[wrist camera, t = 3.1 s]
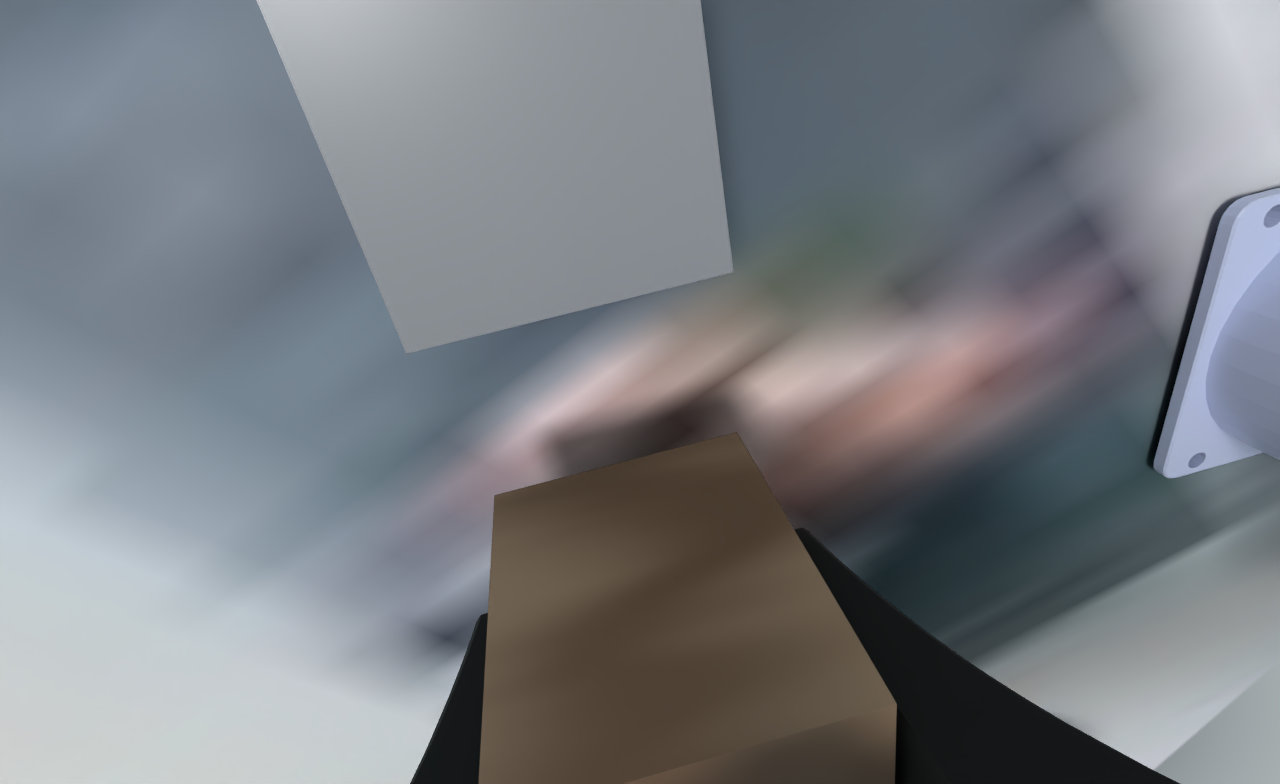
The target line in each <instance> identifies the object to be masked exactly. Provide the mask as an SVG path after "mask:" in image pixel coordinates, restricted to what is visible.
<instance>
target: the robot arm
mask: <svg viewBox="0 0 1280 784" xmlns="http://www.w3.org/2000/svg"><path fill="white" fill-rule="evenodd" d="M1262 453H1266V454H1268V455H1270V456H1272V457H1273V458H1275V459H1277V460H1279V461H1280V188H1276V189H1272V190H1268V191H1264V192H1260V193H1256V194H1252V195H1248V196H1245V197H1243V198H1240V199H1238V200H1236V201H1235V202H1234V203H1233V204H1231V205H1230V206H1229V207H1228V208H1227V209H1226V211H1225V212H1224V213H1223V215H1222V217H1221V220H1220V222H1219V226H1218V229H1217V233H1216V236H1215V240H1214V244H1213V247H1212V251H1211V255H1210V258H1209V262H1208V266H1207V269H1206V273H1205V277H1204V280H1203V284H1202V287H1201V291H1200V295H1199V298H1198V302H1197V306H1196V309H1195V313H1194V317H1193V320H1192V324H1191V327H1190V331H1189V335H1188V338H1187V342H1186V346H1185V349H1184V353H1183V357H1182V360H1181V364H1180V368H1179V371H1178V375H1177V378H1176V382H1175V386H1174V389H1173V393H1172V397H1171V400H1170V404H1169V408H1168V411H1167V415H1166V418H1165V422H1164V426H1163V429H1162V433H1161V437H1160V440H1159V444H1158V448H1157V451H1156V455H1155V459H1154V469H1155V470H1156V471H1157V472H1158V473H1160V474H1162V475H1163V476H1165V477H1167V478H1176V477H1180V476H1184V475H1187V474H1191V473H1194V472H1198V471H1201V470H1205V469H1208V468H1212V467H1215V466H1219V465H1223V464H1226V463H1230V462H1233V461H1237V460H1240V459H1244V458H1247V457H1251V456H1254V455H1258V454H1262ZM795 532H796V534H797V535H798V537H799V539H800V540H801V542H802V544H803V545H804V547H805V549H806V550H807V552H808V554H809V556H810V557H811V559H812V561H813V562H814V564H815V566H816V567H817V569H818V571H819V573H820V574H821V576H822V578H823V579H824V581H825V583H826V584H827V586H828V588H829V590H830V591H831V593H832V595H833V596H834V598H835V600H836V601H837V603H838V605H839V607H840V608H841V610H842V612H843V613H844V615H845V617H846V618H847V620H848V622H849V623H850V625H851V627H852V629H853V630H854V632H855V634H856V635H857V637H858V639H859V640H860V642H861V644H862V646H863V647H864V649H865V651H866V652H867V654H868V656H869V657H870V659H871V661H872V663H873V664H874V666H875V668H876V669H877V671H878V673H879V674H880V676H881V678H882V679H883V681H884V683H885V685H886V686H887V688H888V690H889V691H890V693H891V695H892V696H893V698H894V700H895V702H896V703H897V717H896V755H895V784H1179V783H1177V782H1176V781H1174V780H1172V779H1170V778H1168V777H1166V776H1164V775H1162V774H1159V773H1158V772H1156V771H1154V770H1152V769H1150V768H1148V767H1146V766H1144V765H1142V764H1141V763H1139V762H1137V761H1135V760H1133V759H1131V758H1129V757H1128V756H1126V755H1124V754H1122V753H1120V752H1118V751H1117V750H1115V749H1113V748H1111V747H1109V746H1107V745H1106V744H1104V743H1102V742H1100V741H1098V740H1096V739H1095V738H1093V737H1091V736H1089V735H1087V734H1085V733H1084V732H1082V731H1080V730H1078V729H1076V728H1074V727H1073V726H1071V725H1069V724H1067V723H1065V722H1064V721H1062V720H1060V719H1059V718H1057V717H1055V716H1054V715H1052V714H1050V713H1049V712H1047V711H1045V710H1044V709H1042V708H1040V707H1039V706H1037V705H1035V704H1034V703H1032V702H1030V701H1029V700H1027V699H1025V698H1024V697H1022V696H1020V695H1019V694H1017V693H1016V692H1014V691H1013V690H1011V689H1009V688H1008V687H1006V686H1005V685H1003V684H1002V683H1000V682H998V681H997V680H995V679H994V678H992V677H991V676H989V675H988V674H986V673H985V672H983V671H982V670H980V669H979V668H977V667H976V666H974V665H973V664H971V663H970V662H968V661H967V660H965V659H964V658H963V657H961V656H960V655H958V654H957V653H955V652H954V651H953V650H951V649H950V648H948V647H947V646H946V645H944V644H943V643H942V642H940V641H939V640H937V639H936V638H935V637H933V636H932V635H931V634H929V633H928V632H926V631H925V630H924V629H923V628H921V627H920V626H919V625H917V624H916V623H915V622H913V621H912V620H911V619H909V618H908V617H907V616H906V615H904V614H903V613H902V612H901V611H899V610H898V609H897V608H896V607H894V606H893V605H892V604H891V603H889V602H888V601H887V600H886V599H884V598H883V597H882V596H881V595H879V594H878V593H877V592H876V591H874V590H873V589H872V588H871V587H870V586H868V585H867V584H866V583H865V582H864V581H863V580H861V579H860V578H859V577H858V576H857V575H856V574H854V573H853V572H852V571H851V570H850V569H849V568H848V567H846V566H845V565H844V564H843V563H842V562H841V561H840V560H839V559H837V558H836V557H835V556H834V555H833V554H832V553H831V552H830V551H829V550H828V549H827V548H825V547H824V546H823V545H822V544H821V543H820V542H819V541H818V540H817V539H816V538H815V537H814V536H813V535H812V534H811V533H810V532H809V531H807V530H805V529H804V528H799V529H795ZM487 622H488V613H486V614H483V615H481V616H480V617H479V619H478V620H477V622H476V625H475V628H474V631H473V634H472V637H471V640H470V642H469V645H468V648H467V651H466V654H465V656H464V659H463V662H462V664H461V667H460V670H459V672H458V675H457V677H456V680H455V683H454V685H453V688H452V690H451V693H450V695H449V698H448V700H447V702H446V705H445V707H444V710H443V712H442V714H441V717H440V719H439V721H438V724H437V726H436V728H435V731H434V733H433V735H432V738H431V740H430V742H429V745H428V747H427V749H426V751H425V754H424V756H423V758H422V760H421V762H420V764H419V766H418V768H417V770H416V773H415V775H414V777H413V779H412V781H411V783H410V784H479V766H480V748H481V730H482V712H483V694H484V676H485V658H486V640H487Z"/></svg>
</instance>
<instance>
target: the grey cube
mask: <svg viewBox="0 0 1280 784" xmlns="http://www.w3.org/2000/svg"><path fill="white" fill-rule="evenodd" d="M257 2H258V5H259V7H260V9H261V12H262V14H263V17H264V19H265V21H266V24H267V26H268V28H269V31H270V33H271V35H272V38H273V40H274V43H275V45H276V47H277V50H278V52H279V54H280V57H281V59H282V61H283V64H284V66H285V68H286V71H287V73H288V76H289V78H290V80H291V83H292V85H293V87H294V90H295V92H296V94H297V97H298V99H299V102H300V104H301V106H302V109H303V111H304V113H305V116H306V118H307V120H308V123H309V125H310V127H311V130H312V132H313V135H314V137H315V139H316V142H317V144H318V146H319V149H320V151H321V153H322V156H323V158H324V161H325V163H326V165H327V168H328V170H329V172H330V175H331V177H332V179H333V182H334V184H335V186H336V189H337V191H338V194H339V196H340V198H341V201H342V203H343V205H344V208H345V210H346V212H347V215H348V217H349V220H350V222H351V224H352V227H353V229H354V231H355V234H356V236H357V238H358V241H359V243H360V245H361V248H362V250H363V253H364V255H365V257H366V260H367V262H368V264H369V267H370V269H371V271H372V274H373V276H374V279H375V281H376V283H377V286H378V288H379V290H380V293H381V295H382V297H383V300H384V302H385V304H386V307H387V309H388V312H389V314H390V316H391V319H392V321H393V323H394V326H395V328H396V330H397V333H398V335H399V338H400V340H401V342H402V345H403V347H404V349H405V352H406V354H407V353H411V352H415V351H419V350H423V349H427V348H431V347H435V346H439V345H443V344H447V343H451V342H455V341H459V340H463V339H467V338H471V337H475V336H479V335H483V334H487V333H491V332H495V331H499V330H503V329H507V328H511V327H515V326H519V325H523V324H527V323H531V322H535V321H539V320H544V319H548V318H552V317H556V316H560V315H564V314H568V313H572V312H576V311H580V310H584V309H588V308H592V307H596V306H600V305H604V304H608V303H612V302H616V301H620V300H624V299H628V298H632V297H636V296H640V295H644V294H648V293H652V292H656V291H660V290H664V289H668V288H672V287H676V286H680V285H684V284H688V283H692V282H696V281H700V280H704V279H708V278H712V277H716V276H720V275H724V274H728V273H732V272H733V265H732V257H731V248H730V240H729V232H728V223H727V215H726V207H725V199H724V190H723V182H722V174H721V166H720V157H719V149H718V141H717V133H716V124H715V116H714V108H713V99H712V91H711V83H710V75H709V66H708V58H707V50H706V42H705V33H704V25H703V17H702V9H701V0H257Z"/></svg>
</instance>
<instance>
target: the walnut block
mask: <svg viewBox="0 0 1280 784" xmlns="http://www.w3.org/2000/svg"><path fill="white" fill-rule="evenodd" d="M896 717H897V703H896V702H895V700H894V698H893V696H892V695H891V693H890V691H889V690H888V688H887V686H886V685H885V683H884V681H883V679H882V678H881V676H880V674H879V673H878V671H877V669H876V668H875V666H874V664H873V663H872V661H871V659H870V657H869V656H868V654H867V652H866V651H865V649H864V647H863V646H862V644H861V642H860V640H859V639H858V637H857V635H856V634H855V632H854V630H853V629H852V627H851V625H850V623H849V622H848V620H847V618H846V617H845V615H844V613H843V612H842V610H841V608H840V607H839V605H838V603H837V601H836V600H835V598H834V596H833V595H832V593H831V591H830V590H829V588H828V586H827V584H826V583H825V581H824V579H823V578H822V576H821V574H820V573H819V571H818V569H817V567H816V566H815V564H814V562H813V561H812V559H811V557H810V556H809V554H808V552H807V550H806V549H805V547H804V545H803V544H802V542H801V540H800V539H799V537H798V535H797V534H796V532H795V530H794V528H793V527H792V525H791V523H790V522H789V520H788V518H787V517H786V515H785V513H784V511H783V510H782V508H781V506H780V505H779V503H778V501H777V500H776V498H775V496H774V494H773V493H772V491H771V489H770V488H769V486H768V484H767V483H766V481H765V479H764V477H763V476H762V474H761V472H760V471H759V469H758V467H757V466H756V464H755V462H754V461H753V459H752V457H751V455H750V454H749V452H748V450H747V449H746V447H745V445H744V444H743V442H742V440H741V438H740V437H739V435H738V433H737V432H735V433H732V434H728V435H724V436H720V437H716V438H712V439H709V440H705V441H701V442H697V443H693V444H689V445H686V446H682V447H678V448H674V449H670V450H666V451H663V452H659V453H655V454H651V455H647V456H643V457H640V458H636V459H632V460H628V461H624V462H620V463H617V464H613V465H609V466H605V467H601V468H597V469H594V470H590V471H586V472H582V473H578V474H574V475H571V476H567V477H563V478H559V479H555V480H551V481H548V482H544V483H540V484H536V485H532V486H528V487H525V488H521V489H517V490H513V491H509V492H505V493H502V494H498V495H495V496H494V514H493V532H492V550H491V568H490V586H489V604H488V622H487V640H486V658H485V676H484V694H483V712H482V730H481V748H480V766H479V784H895V755H896Z"/></svg>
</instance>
